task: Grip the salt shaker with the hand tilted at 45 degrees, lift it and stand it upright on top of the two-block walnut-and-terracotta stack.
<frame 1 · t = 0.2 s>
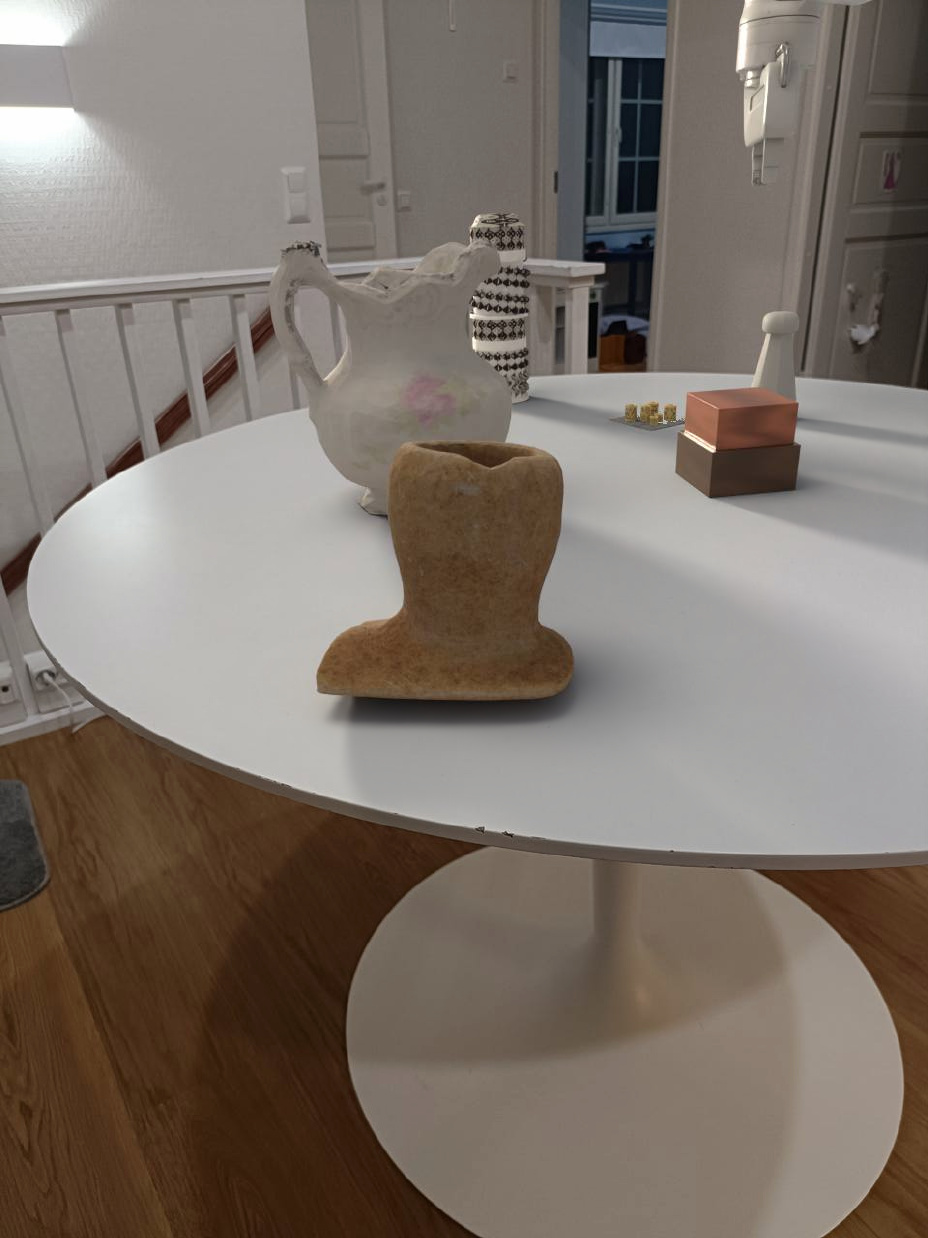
hand: (763, 184, 109), 27 cm above the table, tool pointing down, fingers open, 8 cm apart
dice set: (651, 421, 115), on the table
stone cup: (455, 675, 57), on the table
white patterned cylinder: (500, 399, 131), on the table
salt shaker: (769, 419, 113), on the table
ceramic pitcher: (407, 502, 89), on the table
block stack: (733, 480, 90), on the table
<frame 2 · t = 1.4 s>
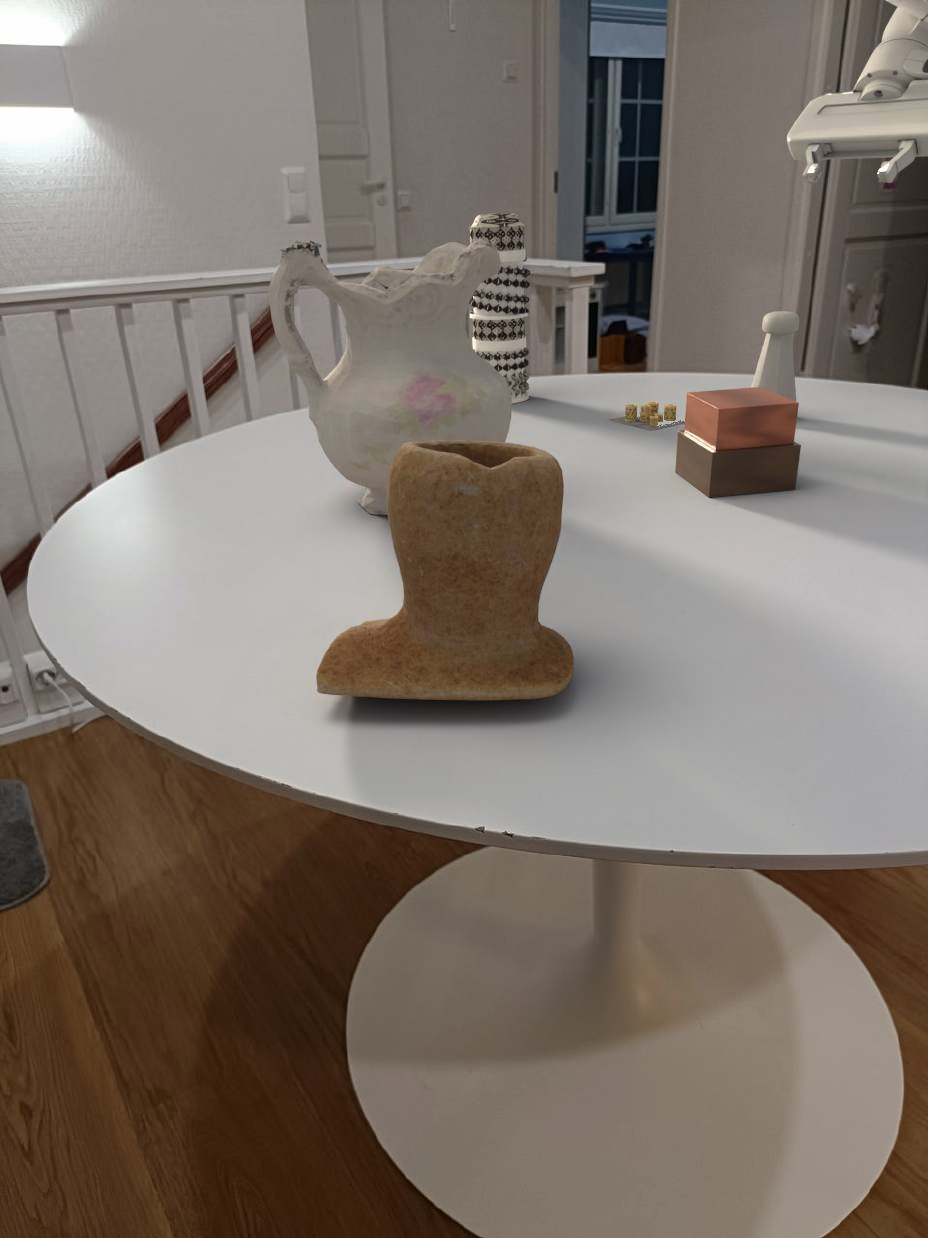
hand: (845, 179, 109), 27 cm above the table, tool tilted 45°, fingers open, 8 cm apart
nothing on the table moved.
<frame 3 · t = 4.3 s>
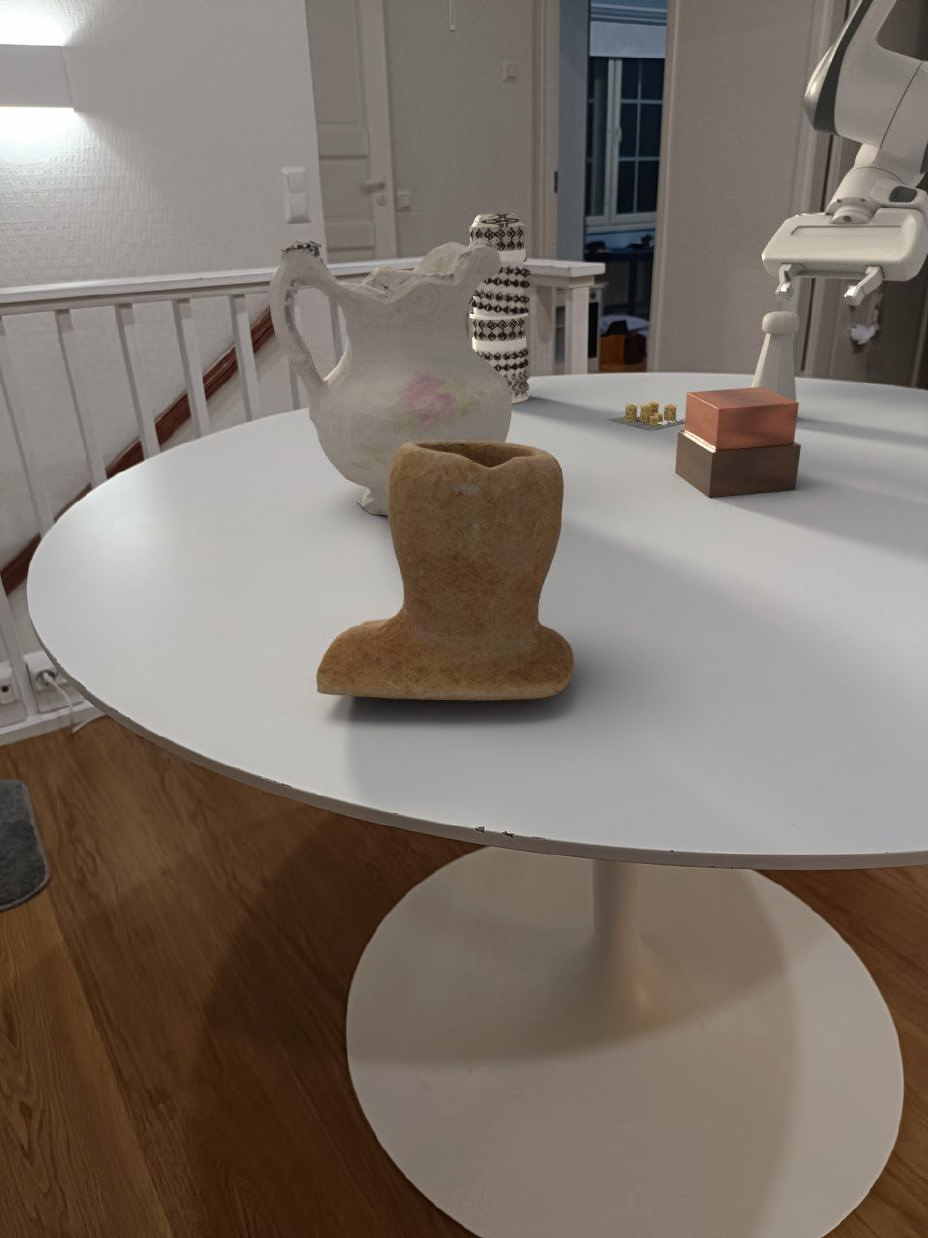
hand: (815, 300, 112), 14 cm above the table, tool tilted 45°, fingers open, 8 cm apart
nothing on the table moved.
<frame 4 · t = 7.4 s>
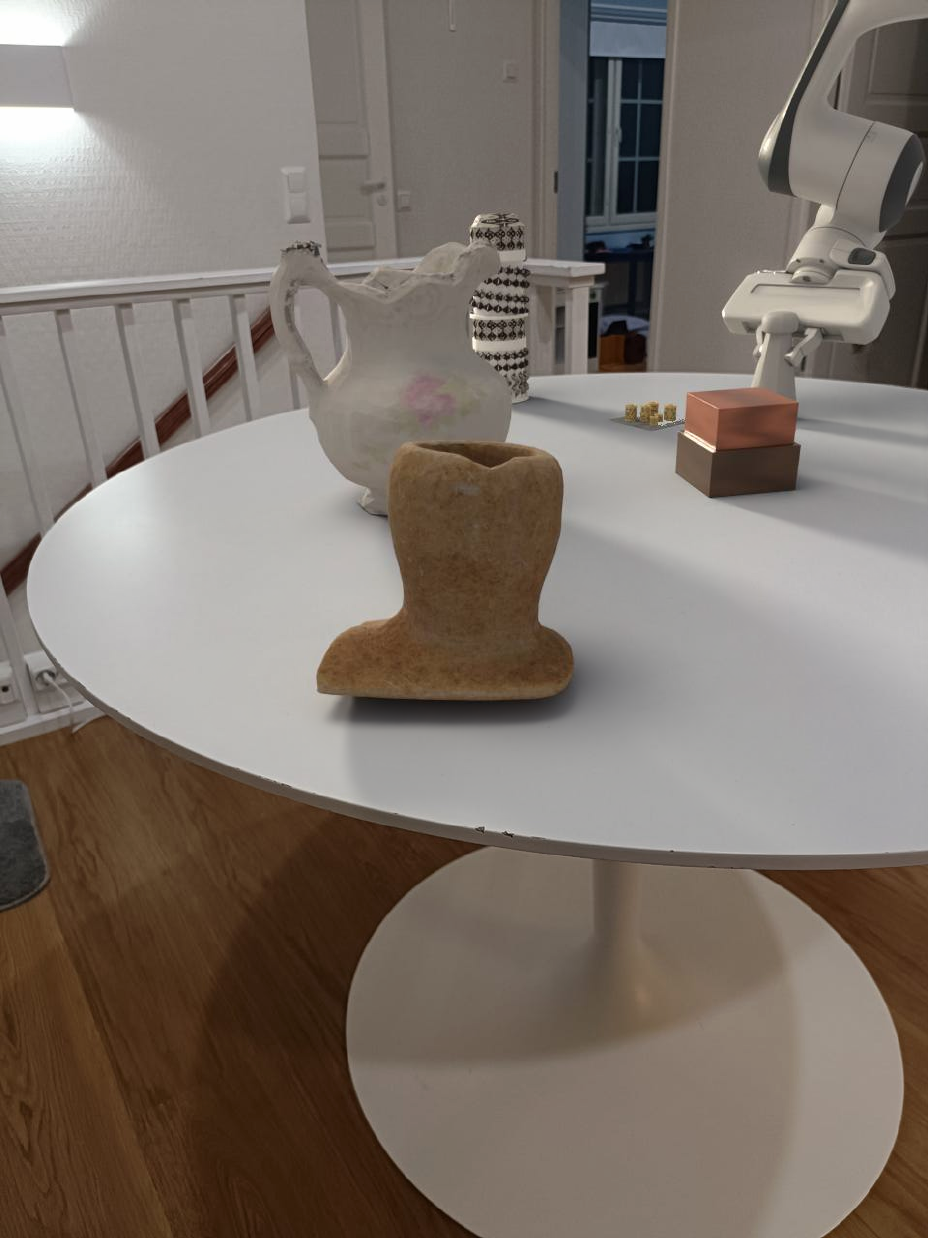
hand: (774, 361, 110), 7 cm above the table, tool tilted 45°, fingers closed on salt shaker, 3 cm apart
salt shaker: (769, 419, 113), on the table, touching gripper
everything else where it was.
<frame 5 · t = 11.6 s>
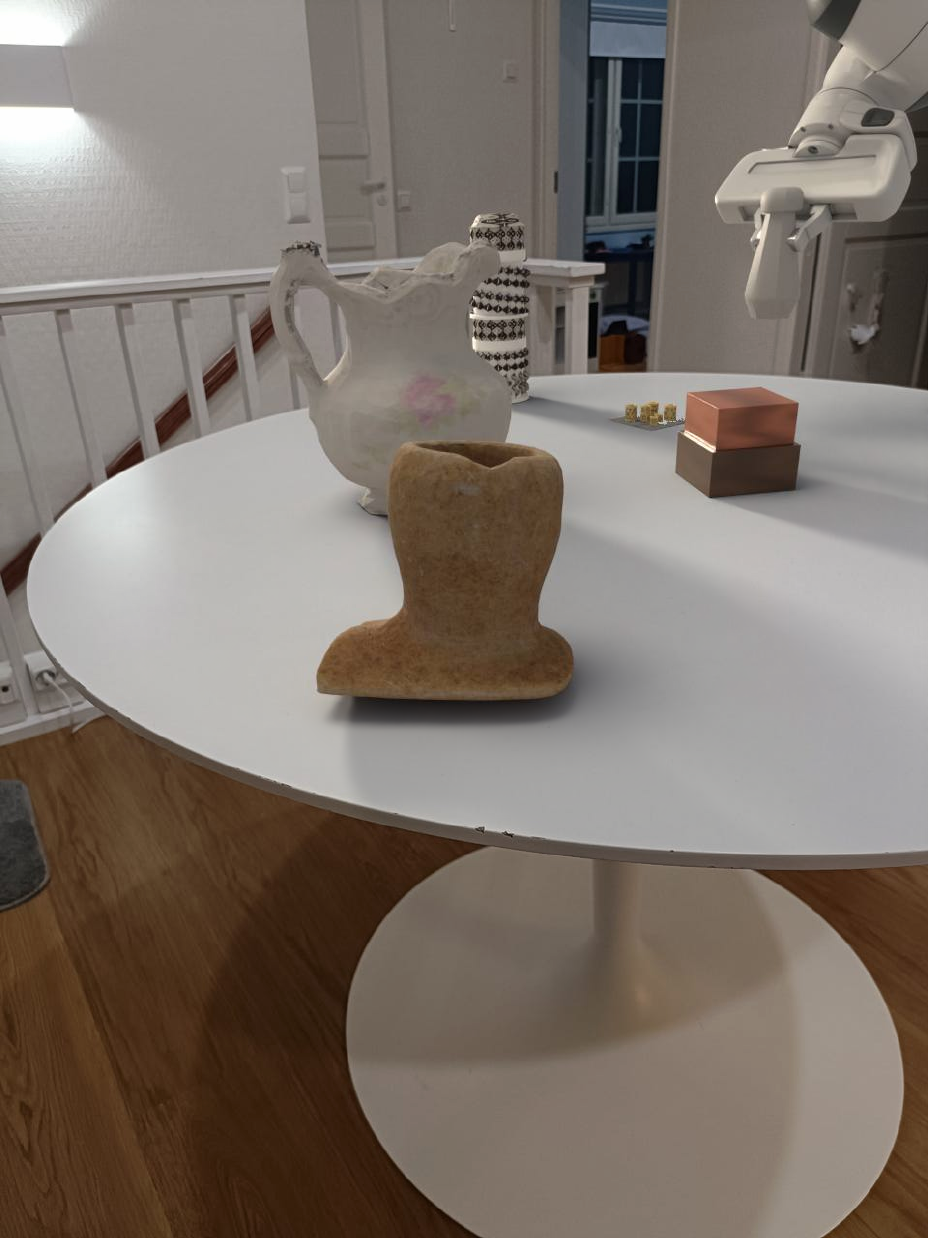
hand: (775, 247, 94), 21 cm above the table, tool tilted 45°, fingers closed on salt shaker, 3 cm apart
salt shaker: (770, 318, 98), point 14 cm above the table, touching gripper
everything else where it was.
when the fingers open (16 cm above the table, at t = 16.2 s): salt shaker stays where it is, resting on block stack.
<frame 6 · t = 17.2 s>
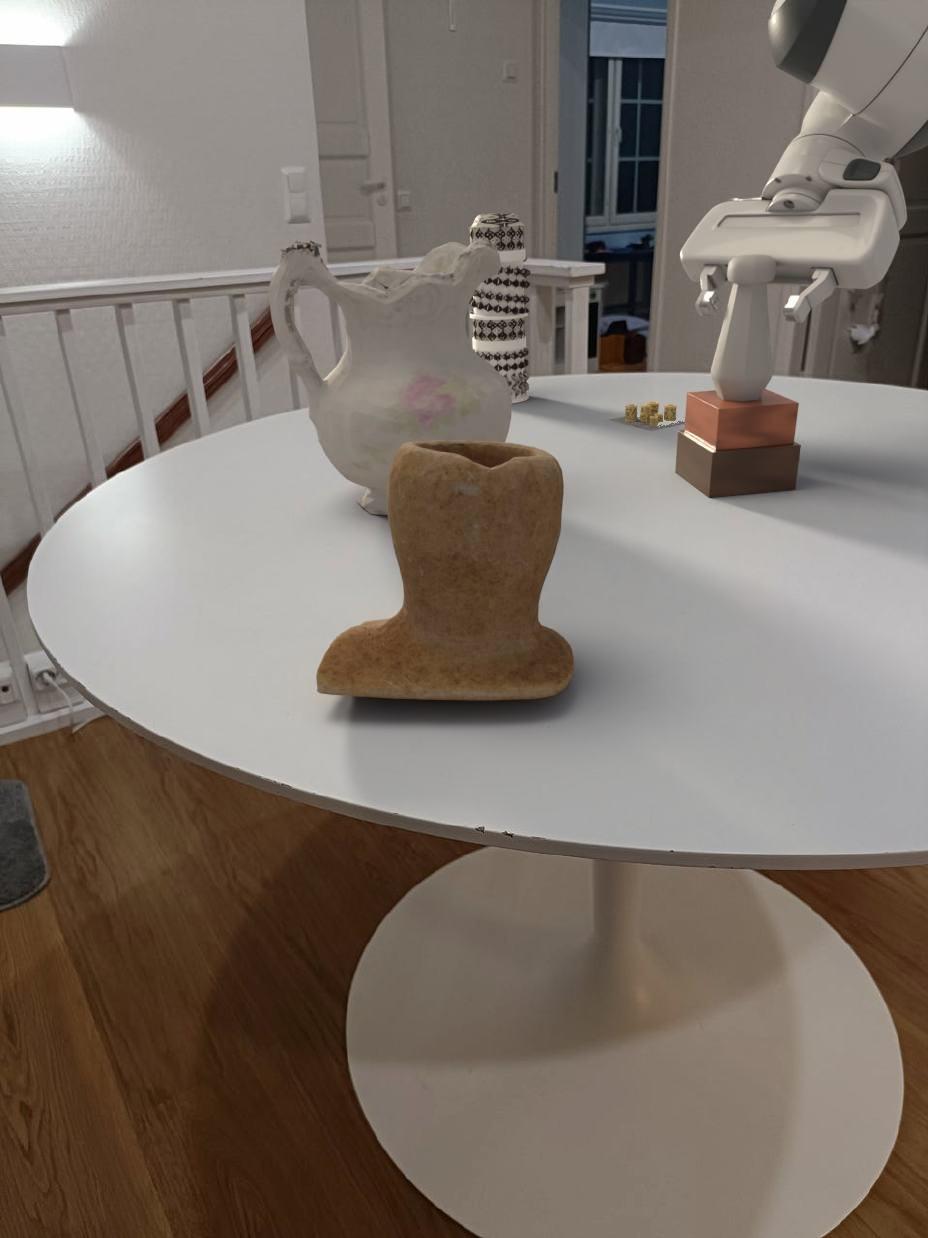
hand: (745, 314, 83), 16 cm above the table, tool tilted 45°, fingers open, 8 cm apart
salt shaker: (739, 398, 87), point 8 cm above the table, touching block stack
everything else where it was.
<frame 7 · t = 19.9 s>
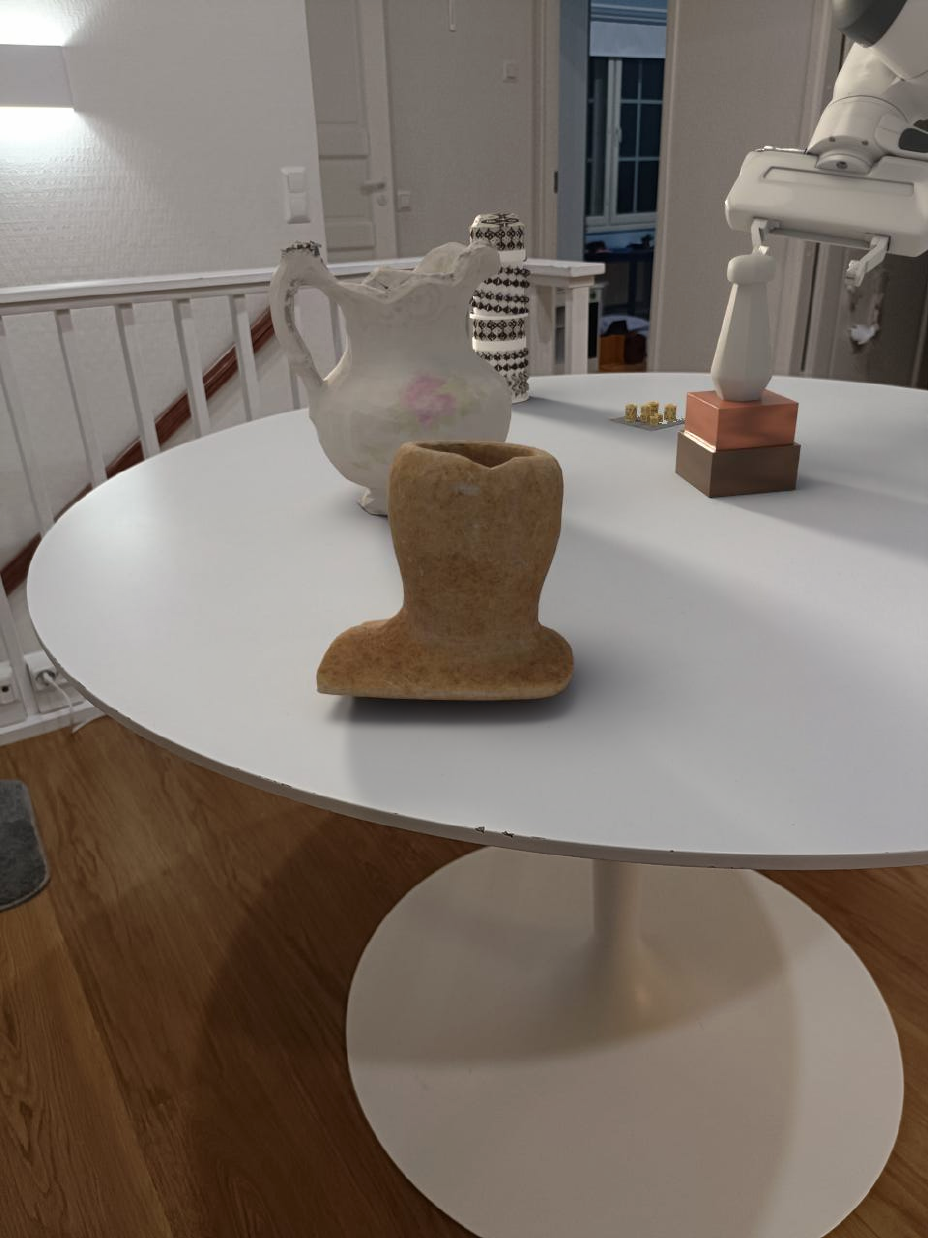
hand: (803, 273, 88), 19 cm above the table, tool tilted 40°, fingers open, 8 cm apart
nothing on the table moved.
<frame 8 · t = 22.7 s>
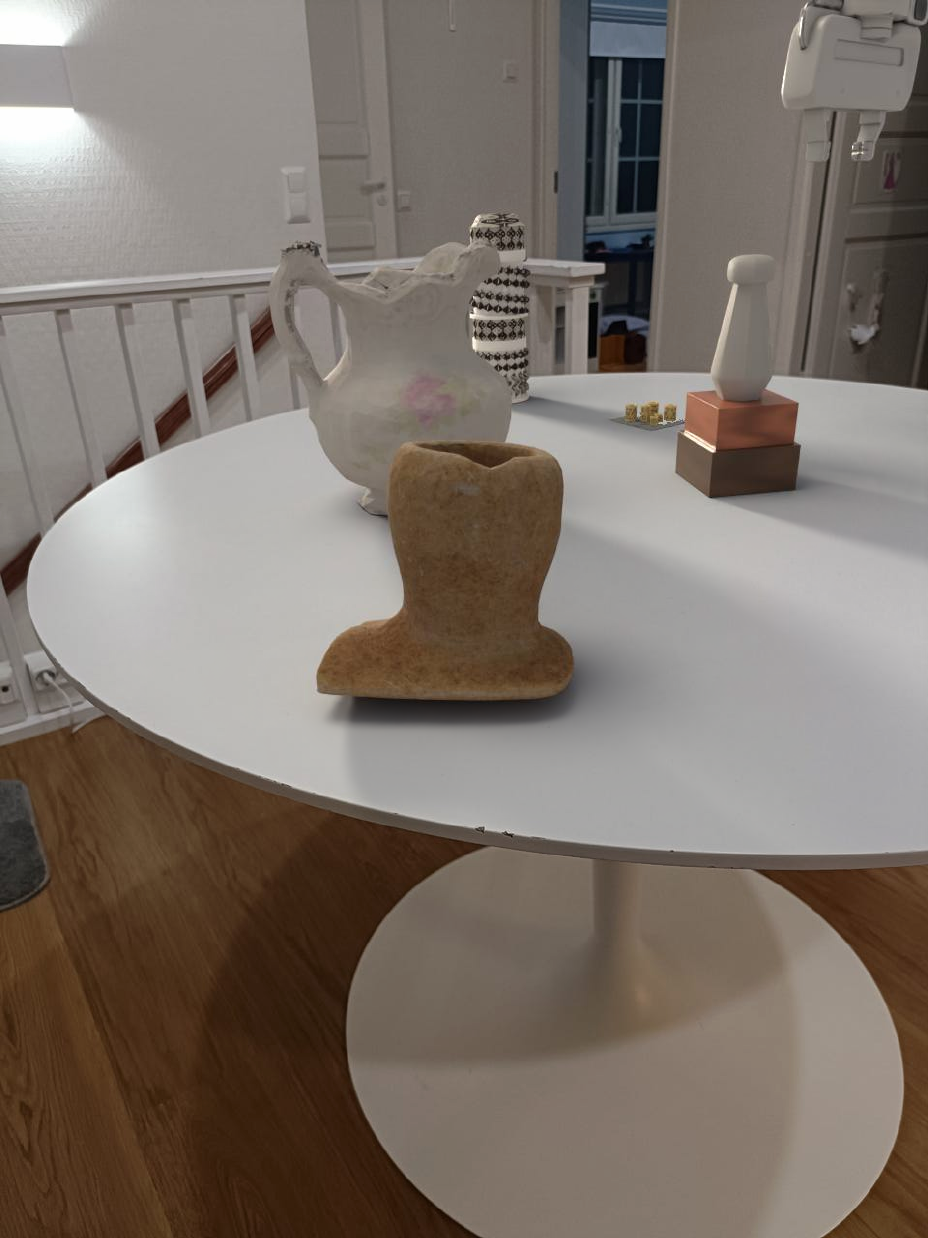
hand: (839, 161, 92), 29 cm above the table, tool pointing down, fingers open, 8 cm apart
nothing on the table moved.
at the end: salt shaker 0.1 cm off-centre on the block stack, point 8.3 cm above the block stack's base; salt shaker tilted 0°; the gripper is holding nothing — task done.
